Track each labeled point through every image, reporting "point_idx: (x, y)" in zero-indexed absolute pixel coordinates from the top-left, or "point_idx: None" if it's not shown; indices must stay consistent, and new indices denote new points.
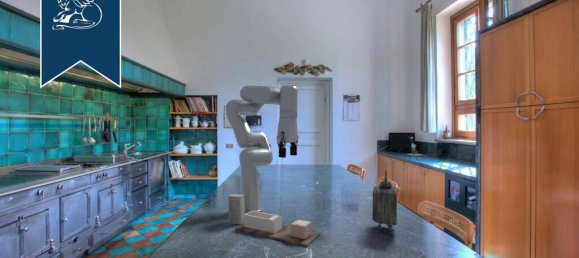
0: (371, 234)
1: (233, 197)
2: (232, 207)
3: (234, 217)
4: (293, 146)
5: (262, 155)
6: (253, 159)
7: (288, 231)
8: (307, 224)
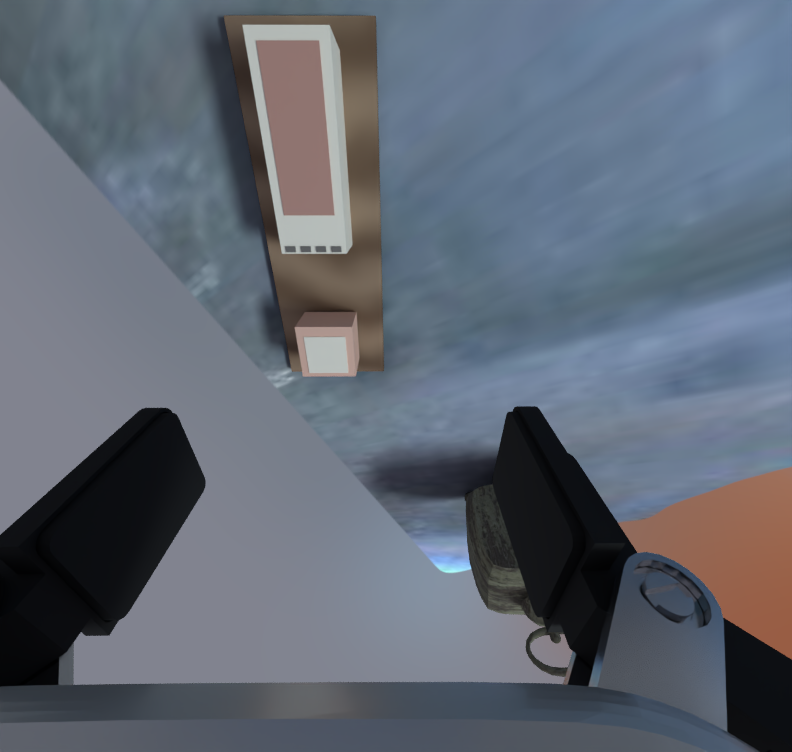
0: (453, 463)
1: None
2: None
3: None
4: (565, 592)
5: None
6: None
7: (341, 282)
8: (326, 374)
